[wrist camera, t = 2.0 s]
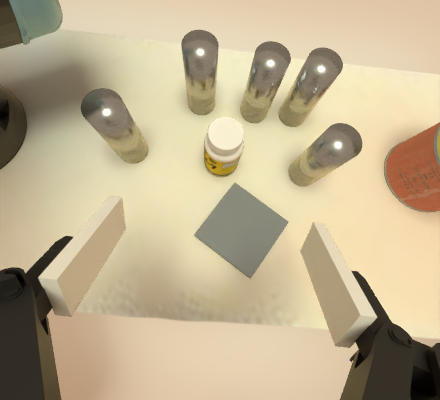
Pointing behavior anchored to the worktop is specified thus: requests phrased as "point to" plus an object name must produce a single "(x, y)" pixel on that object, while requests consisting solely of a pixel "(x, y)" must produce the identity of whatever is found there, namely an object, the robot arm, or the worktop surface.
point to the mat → (242, 229)
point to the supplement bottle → (223, 146)
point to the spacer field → (251, 106)
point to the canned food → (416, 171)
